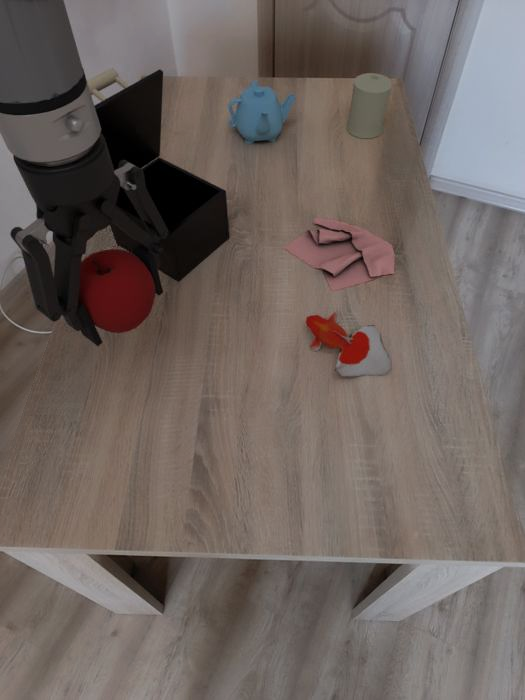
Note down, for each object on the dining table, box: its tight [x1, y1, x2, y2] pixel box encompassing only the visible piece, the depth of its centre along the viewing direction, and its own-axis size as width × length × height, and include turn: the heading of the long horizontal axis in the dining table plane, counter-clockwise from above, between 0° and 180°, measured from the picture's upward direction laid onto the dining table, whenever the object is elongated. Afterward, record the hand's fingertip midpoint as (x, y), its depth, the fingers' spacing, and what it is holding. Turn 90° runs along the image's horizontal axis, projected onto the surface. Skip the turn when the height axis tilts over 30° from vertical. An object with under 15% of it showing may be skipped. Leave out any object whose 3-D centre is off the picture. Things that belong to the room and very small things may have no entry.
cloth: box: [283, 217, 396, 292], centre depth 96 cm, size 20×22×2 cm
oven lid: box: [87, 67, 164, 171], centre depth 84 cm, size 18×16×7 cm
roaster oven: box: [109, 156, 230, 283], centre depth 94 cm, size 18×16×12 cm
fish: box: [305, 309, 392, 379], centre depth 79 cm, size 11×16×10 cm
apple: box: [78, 248, 156, 334], centre depth 54 cm, size 9×9×10 cm
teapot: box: [227, 80, 297, 145], centre depth 116 cm, size 15×14×11 cm
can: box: [346, 72, 393, 140], centre depth 117 cm, size 9×9×12 cm
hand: (124, 312), depth 58 cm, fingers closed on apple, 9 cm apart
